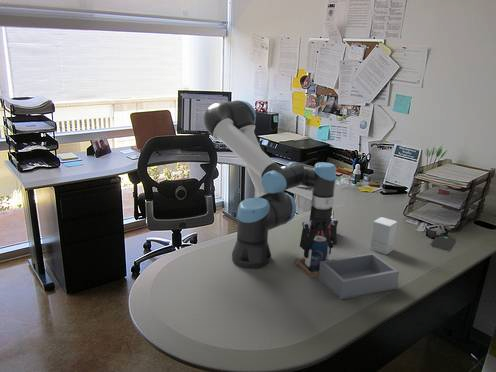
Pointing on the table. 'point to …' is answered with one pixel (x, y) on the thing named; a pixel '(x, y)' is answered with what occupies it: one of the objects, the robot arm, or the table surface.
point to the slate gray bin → (358, 275)
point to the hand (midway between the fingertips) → (316, 263)
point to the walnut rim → (298, 262)
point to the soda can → (318, 252)
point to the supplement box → (383, 235)
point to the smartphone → (443, 243)
